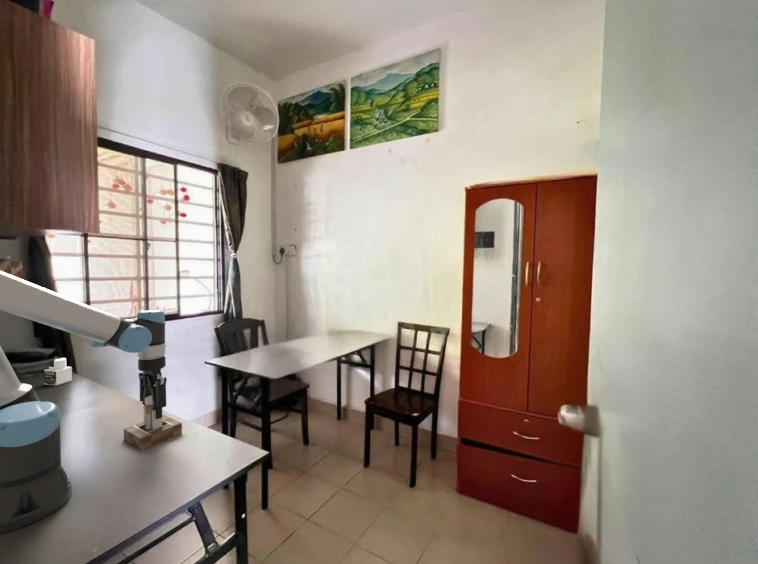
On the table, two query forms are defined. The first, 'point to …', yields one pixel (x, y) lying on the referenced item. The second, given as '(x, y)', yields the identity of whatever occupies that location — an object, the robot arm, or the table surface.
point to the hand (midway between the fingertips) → (153, 425)
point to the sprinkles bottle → (148, 413)
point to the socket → (152, 433)
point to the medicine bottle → (57, 372)
